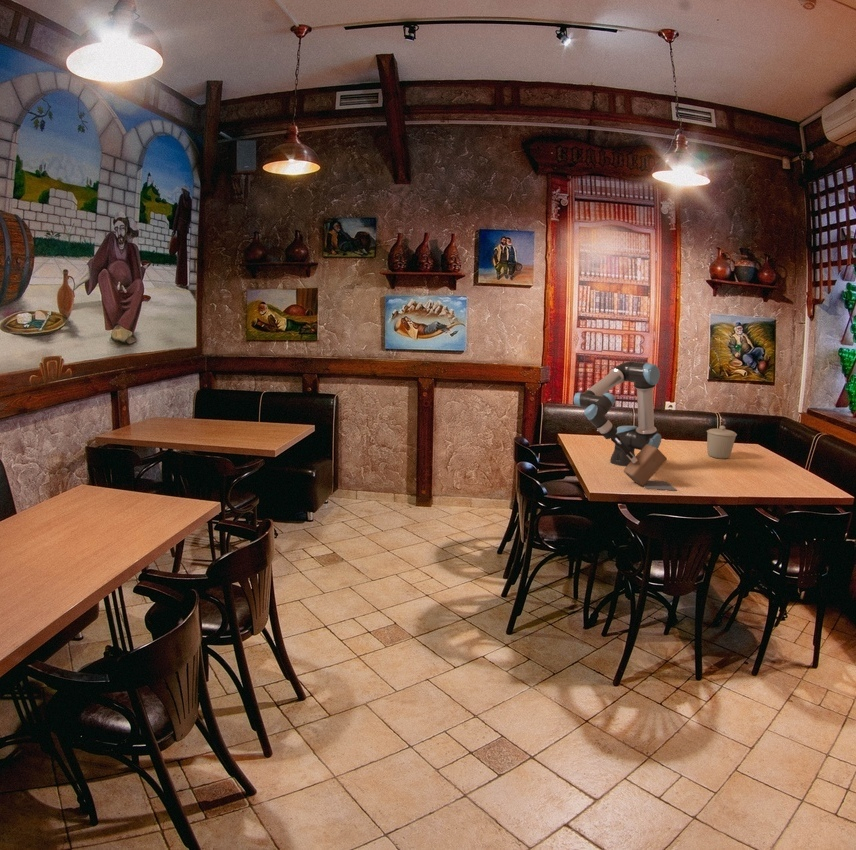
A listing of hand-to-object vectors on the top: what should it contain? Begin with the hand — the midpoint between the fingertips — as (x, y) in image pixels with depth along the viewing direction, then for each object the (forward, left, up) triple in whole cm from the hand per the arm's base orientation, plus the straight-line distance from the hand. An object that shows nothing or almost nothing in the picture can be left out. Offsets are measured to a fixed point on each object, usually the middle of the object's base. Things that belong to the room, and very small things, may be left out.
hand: (635, 461), depth 323 cm
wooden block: (-1, 0, -10) cm, 10 cm away
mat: (0, +13, -13) cm, 18 cm away
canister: (-75, +80, -13) cm, 111 cm away
